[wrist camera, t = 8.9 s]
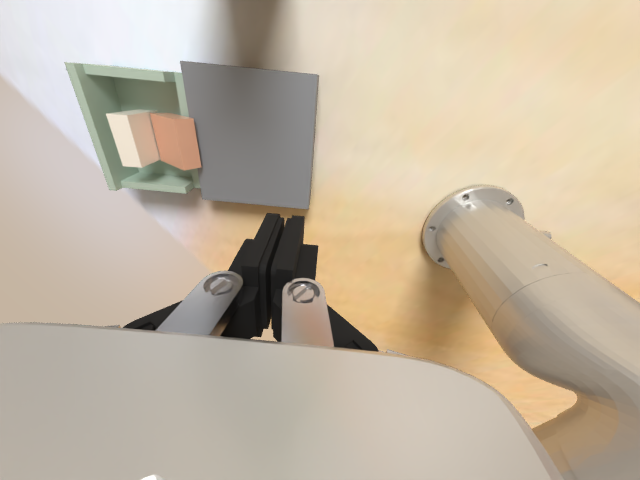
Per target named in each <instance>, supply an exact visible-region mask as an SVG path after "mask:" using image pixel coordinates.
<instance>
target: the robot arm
mask: <svg viewBox="0 0 640 480" xmlns="http://www.w3.org/2000/svg"><path fill="white" fill-rule="evenodd" d="M304 219H305V217H304V216H293V215H292V218H287V221H286V224H285V227H284V218H281V217H280V214H272V213H267V214H266V216H265V218H264V220H263V222H262V224H261V226H260V228H259V230H258V232H257V234H256V236H255V238H254V240H253V239H246V240H245V241H244V243H243V245H242V246H241V248H240V250H239V252H238V253H237V255H236V257H235V259H234V261H233V262H232V264H231V266H230V268H229V270H228V271H218V272H215V273H212V274H210V275H208V276H206V277H205V278H204V279H203V280H201V282H199V284H198V285H197V286H196V287H195V288H194V289H193V290H192V291H191V292H190V293H189V294H188V296H187V297H186V298H185V299H184V300H183V301H180V302H178V303H175V304H173V305H171V306H168V307H166V308H164V309H161V310H159V311H156V312H154V313H152V314H149V315H147V316H144V317H142V318H139V319H137V320H135V321H133V322H131V323H129V324H127V325H126V326H124V327H123V328H121V327H120V325H115V326H104V327H103V326H91V325H77V324H57V323H37V322H33V323H32V322H30V323H3V324H0V480H640V303H639V302H638V301H636V300H635V299H633V298H632V297H630V296H629V295H628V294H626V293H625V292H623V291H622V290H621V289H619V288H618V287H616V286H615V285H614V284H612V283H611V282H609V281H608V280H607V279H605V278H604V277H602V276H601V275H600V274H598V273H597V272H596V271H594V270H593V269H591V268H590V267H589V266H587V265H586V264H584V263H583V262H582V261H580V260H579V259H577V258H576V257H575V256H573V255H572V254H570V253H569V252H568V251H566V250H565V249H563V248H562V247H561V246H559V245H558V244H557V243H555V242H554V241H552V240H551V234H550V232H547V231H538V230H537V229H536V228H534V227H533V226H531V225H530V224H529V223H527V222H526V221H525V218H524V210H523V207H522V205H521V203H520V202H519V200H518V199H517V198H516V197H515V196H514V195H512V194H511V193H510V192H508V191H506V190H504V189H502V188H499V187H496V186H490V185H479V186H472V187H468V188H464V189H462V190H459V191H457V192H455V193H453V194H451V195H450V196H448V197H446V198H445V199H444V200H442V201H441V202H440V203H439V204H438V205H437V206H436V207H435V208H434V209H433V210H432V211H431V213H430V215H429V216H428V218H427V219H426V222H425V225H424V227H423V233H422V240H423V245H424V248H425V250H426V252H427V254H428V255H429V256H430V258H431V259H432V260H433V261H434V262H436V263H437V264H439V265H441V266H443V267H445V268H449V269H451V270H452V271H453V273H454V274H455V276H456V277H457V279H458V281H459V282H460V284H461V285H462V287H463V288H464V290H465V292H466V293H467V295H468V296H469V298H470V299H471V301H472V303H473V304H474V306H475V307H476V309H477V310H478V312H479V314H480V315H481V317H482V318H483V320H484V321H485V323H486V325H487V326H488V328H489V329H490V331H491V332H492V334H493V335H494V337H495V338H496V340H497V342H498V343H499V345H500V346H501V348H502V349H503V351H504V352H505V353H506V354H507V356H508V357H509V358H510V359H511V360H512V361H513V362H514V363H515V364H517V365H518V366H519V367H520V368H522V369H523V370H525V371H526V372H528V373H530V374H531V375H533V376H535V377H537V378H539V379H542V380H544V381H547V382H549V383H551V384H554V385H557V386H559V387H562V388H565V389H568V390H571V391H573V392H574V393H575V394H576V395H577V401H576V403H575V404H574V405H573V406H572V407H571V408H569V409H567V410H565V411H564V412H562V413H560V414H559V415H557V417H556V418H553V419H551V420H549V421H547V422H545V423H543V424H541V425H539V426H537V427H535V428H533V429H531V428H530V426H529V425H528V423H527V422H526V421H525V419H524V418H523V417H522V416H521V414H520V413H519V412H518V411H517V409H516V408H515V407H514V406H513V405H512V404H511V403H510V402H509V401H508V400H507V399H506V398H505V397H504V396H503V395H502V394H501V393H499V392H498V391H497V390H495V389H494V388H493V387H491V386H490V385H488V384H486V383H485V382H483V381H481V380H479V379H478V378H476V377H474V376H472V375H470V374H467V373H465V372H463V371H460V370H458V369H456V368H453V367H451V366H447V365H444V364H441V363H438V362H435V361H431V360H427V359H422V358H418V357H413V356H408V355H405V354H401V353H398V352H394V351H391V350H388V349H387V351H386V352H382V351H379V350H378V349H377V347H376V346H375V345H374V344H373V343H372V342H371V341H370V340H369V339H368V338H366V337H365V336H364V335H363V334H362V333H360V332H359V331H358V330H357V329H356V328H354V327H353V326H352V325H351V324H350V323H349V322H347V321H346V320H345V319H344V318H343V317H341V316H340V315H339V314H338V313H337V312H335V311H334V310H333V309H332V308H331V307H329V306H328V305H327V303H326V297H325V292H324V289H323V287H322V286H321V285H320V283H318V282H316V281H315V276H316V264H317V253H318V245H307V244H303V237H304ZM270 320H271V324H272V329H273V337H274V338H275V339H276V340H277V341H278V342H274V341H264V340H253V339H251V338H252V337H261V336H262V332H263V329H268V327H269V324H270Z"/></svg>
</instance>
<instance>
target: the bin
mask: <svg viewBox="0 0 640 480" xmlns="http://www.w3.org/2000/svg"><path fill="white" fill-rule="evenodd" d="M64 63H65V65H66V68H67V71H68V74H69V77H70V80H71V82H72V85H73V88H74V91H75V94H76V97H77V99H78V102H79V105H80V108H81V111H82V114H83V116H84V119H85V122H86V125H87V128H88V131H89V133H90V136H91V139H92V142H93V145H94V148H95V150H96V153H97V156H98V159H99V162H100V165H101V167H102V170H103V173H104V176H105V178H106V182H107V184H108V187H109V190H115V191H117V190H119V189H121V188H132V189H142V190H153V191H163V192H174V193H185V194H186V193H188V192H189V191H190V190H192V189H193V188H200V182H199V176H198V169H197V168H195V169H190V170H182V169H179V168H177V167H175V166H172V165H170V164H168V163H165V162H163V161H161V159H160V160H158V161H156V162H154V163H151V164H149V165H147V166H145V167H143V168H139V167H126V166H123V165H122V162H121V159H120V156H119V153H118V149H117V146H116V143H115V140H114V137H113V134H112V131H111V128H110V125H109V122H108V119H107V116H106V114H107V113H115V112H122V111H129V110H136V109H145V110H157V113H173V114H177V115H181V116H185V117H189V114H188V107H187V101H186V95H185V89H184V83H183V76H182V73H178V72H168V71H158V70H148V69H138V68H128V67H118V66H108V65H95V64H81V63H68V62H64Z"/></svg>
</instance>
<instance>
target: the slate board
mask: <svg viewBox="0 0 640 480" xmlns="http://www.w3.org/2000/svg"><path fill="white" fill-rule="evenodd" d="M180 64H181V70H182V76H183V83H184V89H185V95H186V101H187V107H188V114H189V117H190V118H194V125H195V131H196V137H197V143H198V149H199V155H200V162H201V167H200V168H197V169H198V176H199V182H200V188H201V194H202V199H204V200H214V201H225V202H235V203H246V204H257V205H267V206H278V207H289V208H299V209H309V204H310V195H311V181H312V167H313V152H314V138H315V124H316V109H317V95H318V81H319V75H317V74H307V73H297V72H287V71H277V70H267V69H257V68H247V67H237V66H227V65H217V64H206V63H196V62H186V61H180Z"/></svg>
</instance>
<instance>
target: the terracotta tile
mask: <svg viewBox="0 0 640 480" xmlns="http://www.w3.org/2000/svg"><path fill="white" fill-rule="evenodd" d="M150 116H151V120H152V125H153V129H154V133H155V137H156V141H157V146H158V150H159V154H160V158H161V161H163V162H165V163H168V164H170V165H172V166H175V167H177V168H179V169H182V170H190V169H195V168H200V167H201V162H200V155H199V149H198V143H197V137H196V131H195V125H194V118H190V117H185V116H181V115H177V114H173V113H150Z"/></svg>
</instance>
